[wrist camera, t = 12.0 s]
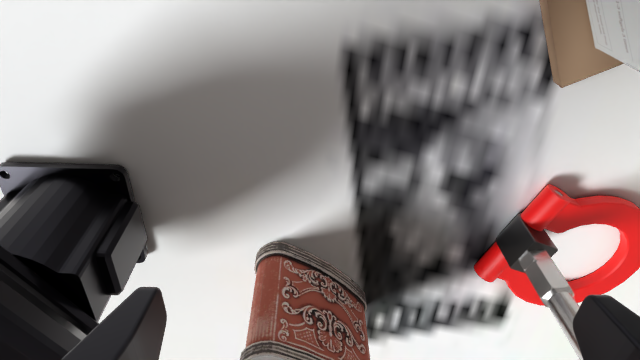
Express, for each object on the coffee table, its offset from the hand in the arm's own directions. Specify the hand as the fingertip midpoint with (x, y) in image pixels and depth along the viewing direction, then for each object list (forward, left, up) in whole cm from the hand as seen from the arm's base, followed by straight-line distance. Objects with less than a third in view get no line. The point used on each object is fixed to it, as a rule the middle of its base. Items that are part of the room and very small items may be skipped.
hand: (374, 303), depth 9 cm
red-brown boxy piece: (-1, -13, -13) cm, 19 cm away
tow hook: (+14, -10, -13) cm, 22 cm away
